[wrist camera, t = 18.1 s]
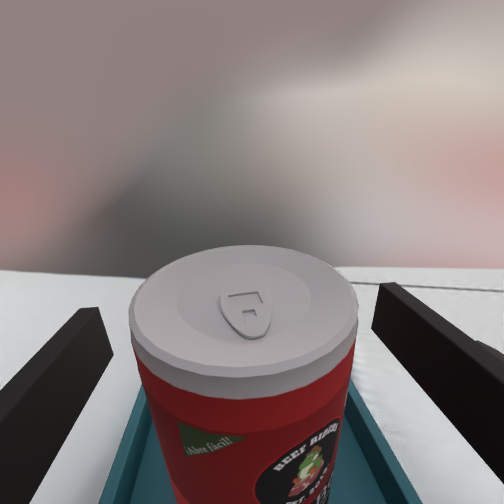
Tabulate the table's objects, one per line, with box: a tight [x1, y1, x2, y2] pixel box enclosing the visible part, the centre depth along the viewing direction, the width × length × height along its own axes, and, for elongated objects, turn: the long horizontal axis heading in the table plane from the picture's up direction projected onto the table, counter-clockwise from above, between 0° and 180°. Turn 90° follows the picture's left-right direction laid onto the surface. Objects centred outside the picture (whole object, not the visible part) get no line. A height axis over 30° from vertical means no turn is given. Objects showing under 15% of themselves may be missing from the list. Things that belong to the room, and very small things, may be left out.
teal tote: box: [99, 378, 423, 504], centre depth 12 cm, size 13×13×2 cm
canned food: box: [129, 245, 359, 504], centre depth 11 cm, size 8×8×11 cm
